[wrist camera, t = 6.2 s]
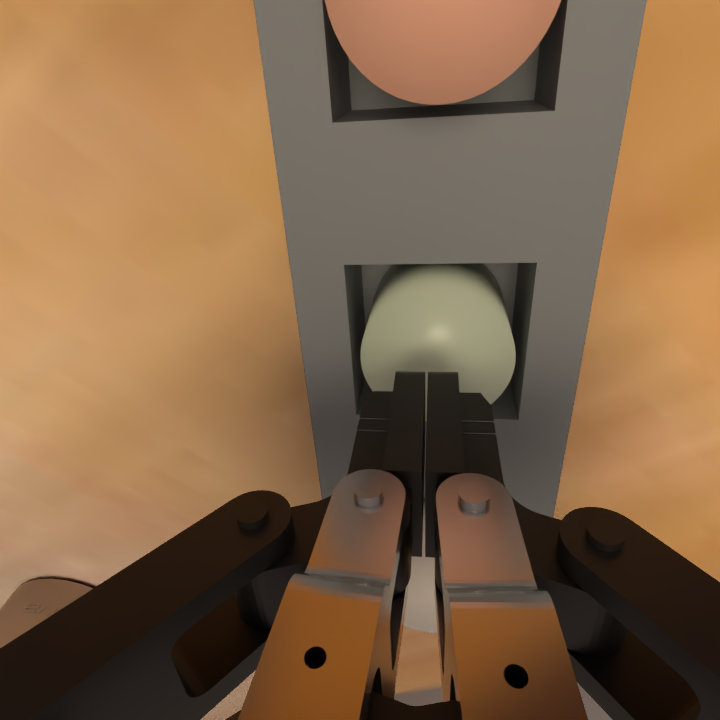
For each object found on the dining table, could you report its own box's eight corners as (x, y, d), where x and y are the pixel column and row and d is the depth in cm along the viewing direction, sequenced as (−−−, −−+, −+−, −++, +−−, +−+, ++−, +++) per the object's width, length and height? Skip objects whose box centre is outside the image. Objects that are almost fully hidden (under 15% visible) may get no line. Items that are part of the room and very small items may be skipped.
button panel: (521, 541, 24) (533, 622, 20) (351, 529, 25) (336, 604, 22) (631, -240, 11) (713, -368, 8) (277, -189, 12) (215, -279, 9)
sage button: (498, 366, 18) (508, 424, 15) (376, 364, 18) (364, 419, 15) (508, 247, 15) (522, 289, 13) (370, 249, 16) (355, 289, 13)
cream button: (485, 561, 21) (491, 638, 18) (382, 554, 21) (373, 627, 19) (492, 485, 19) (501, 559, 16) (377, 479, 19) (367, 549, 17)
